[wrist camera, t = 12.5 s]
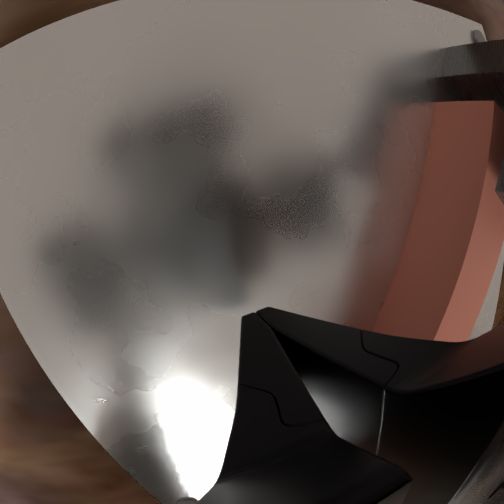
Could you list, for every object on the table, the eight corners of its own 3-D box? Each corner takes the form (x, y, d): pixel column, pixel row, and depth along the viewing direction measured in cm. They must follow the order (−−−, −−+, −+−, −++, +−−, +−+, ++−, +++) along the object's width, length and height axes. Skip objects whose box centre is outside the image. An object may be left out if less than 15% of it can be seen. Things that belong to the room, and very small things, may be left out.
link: (376, 431, 15) (405, 463, 13) (291, 450, 13) (318, 493, 10) (483, 144, 12) (531, 150, 9) (413, 85, 10) (474, 78, 7)
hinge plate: (484, 344, 18) (489, 347, 18) (175, 511, 13) (177, 518, 12) (477, 25, 10) (484, 24, 10) (-49, 83, 5) (-56, 81, 4)
